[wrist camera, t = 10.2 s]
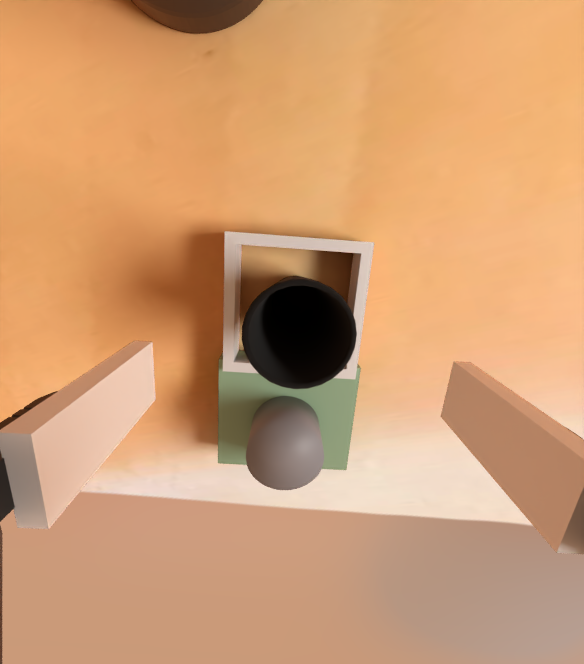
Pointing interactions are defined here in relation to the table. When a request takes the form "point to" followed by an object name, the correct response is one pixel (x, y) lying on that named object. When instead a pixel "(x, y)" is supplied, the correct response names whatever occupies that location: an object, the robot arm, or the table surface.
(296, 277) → the cup
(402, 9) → the table surface
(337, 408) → the multicoloured boxy piece
